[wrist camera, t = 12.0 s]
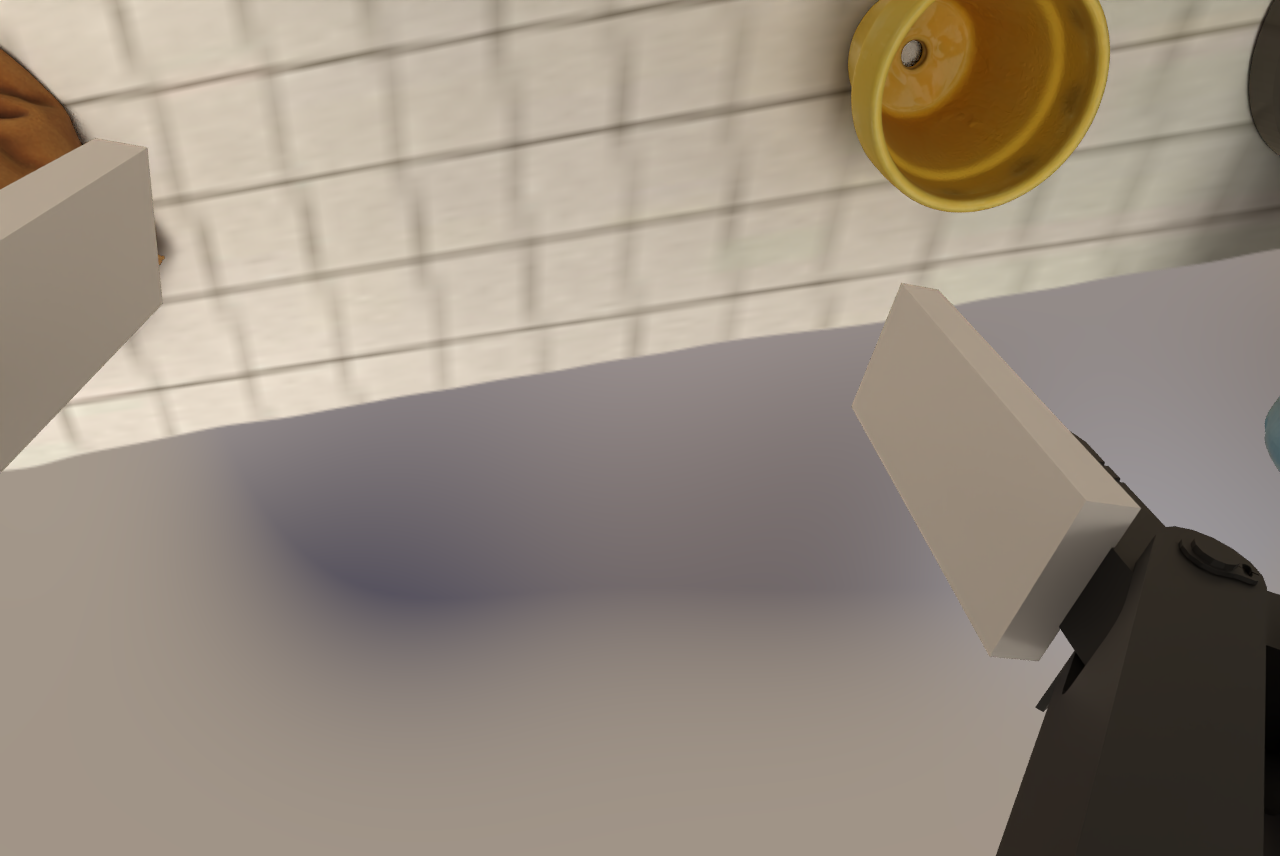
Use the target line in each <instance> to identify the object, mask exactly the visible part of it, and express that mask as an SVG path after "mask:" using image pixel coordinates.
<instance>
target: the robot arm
mask: <svg viewBox="0 0 1280 856" xmlns="http://www.w3.org/2000/svg"><path fill="white" fill-rule="evenodd" d="M1249 95H1250V105H1251V111H1252V116H1253V119H1254V122H1255V125H1256V127H1257V129H1258V132H1259V133H1260V135H1261V137H1262V138H1263V140H1264V141H1265V142H1266V144H1267V145H1268V146H1269V147H1270V148H1271V149H1272V150H1273V151H1274V152H1275V153H1276V154H1278V155H1279V156H1280V0H1274V2H1273V4H1272V6H1271V8H1270V10H1269V12H1268V14H1267V17H1266V19H1265V21H1264V24H1263V26H1262V29H1261V31H1260V34H1259V37H1258V40H1257V43H1256V47H1255V51H1254V55H1253V59H1252V65H1251V72H1250V83H1249ZM162 304H163V303H162V292H161V282H160V272H159V262H158V251H157V241H156V231H155V221H154V210H153V200H152V190H151V180H150V169H149V159H148V149H147V147H141V146H136V145H130V144H125V143H119V142H113V141H108V140H102V139H97V138H95V139H93V140H91V141H89V142H87V143H85V144H84V145H82V146H80V147H78V148H76V149H74V150H72V151H71V152H69V153H67V154H65V155H63V156H61V157H60V158H58V159H56V160H54V161H52V162H50V163H48V164H47V165H45V166H43V167H41V168H39V169H37V170H36V171H34V172H32V173H30V174H28V175H26V176H24V177H23V178H21V179H19V180H17V181H15V182H13V183H12V184H10V185H8V186H6V187H4V188H2V189H0V473H1V472H2V471H3V470H4V469H5V468H6V467H7V466H8V465H9V464H10V463H11V462H12V461H13V460H14V459H15V457H16V456H17V455H18V454H19V453H20V452H21V451H22V450H23V449H24V448H25V447H26V446H27V445H28V444H29V443H30V442H31V441H32V440H33V439H34V438H35V437H36V436H37V434H38V433H39V432H40V431H41V430H42V429H43V428H44V427H45V426H46V425H47V424H48V423H49V422H50V421H51V420H52V419H53V418H54V417H55V416H56V415H57V414H58V413H59V411H60V410H61V409H62V408H63V407H64V406H65V405H66V404H67V403H68V402H69V401H70V400H71V399H72V398H73V397H74V396H75V395H76V394H77V393H78V392H79V391H80V390H81V388H82V387H83V386H84V385H85V384H86V383H87V382H88V381H89V380H90V379H91V378H92V377H93V376H94V375H95V374H96V373H97V372H98V371H99V370H100V369H101V368H102V366H103V365H104V364H105V363H106V362H107V361H108V360H109V359H110V358H111V357H112V356H113V355H114V354H115V353H116V352H117V351H118V350H119V349H120V348H121V347H122V346H123V345H124V343H125V342H126V341H127V340H128V339H129V338H130V337H131V336H132V335H133V334H134V333H135V332H136V331H137V330H138V329H139V328H140V327H141V326H142V325H143V324H144V323H145V322H146V320H147V319H148V318H149V317H150V316H151V315H152V314H153V313H154V312H155V311H156V310H157V309H158V308H159V307H160V306H161V305H162ZM851 407H852V408H853V410H854V412H855V414H856V416H857V418H858V420H859V421H860V423H861V425H862V427H863V428H864V430H865V432H866V434H867V436H868V438H869V439H870V441H871V443H872V445H873V447H874V448H875V450H876V452H877V454H878V456H879V458H880V459H881V461H882V463H883V465H884V467H885V468H886V470H887V472H888V474H889V475H890V477H891V479H892V481H893V483H894V485H895V486H896V488H897V490H898V492H899V493H900V495H901V497H902V499H903V501H904V503H905V505H906V506H907V508H908V510H909V512H910V513H911V515H912V517H913V519H914V521H915V522H916V524H917V526H918V528H919V530H920V532H921V533H922V535H923V537H924V539H925V541H926V542H927V544H928V546H929V548H930V550H931V551H932V553H933V555H934V557H935V559H936V561H937V562H938V564H939V566H940V568H941V570H942V571H943V573H944V575H945V577H946V579H947V580H948V582H949V584H950V586H951V588H952V589H953V591H954V593H955V595H956V597H957V598H958V600H959V602H960V604H961V606H962V608H963V609H964V611H965V613H966V615H967V617H968V618H969V620H970V622H971V624H972V626H973V628H974V629H975V631H976V633H977V635H978V636H979V638H980V640H981V642H982V644H983V645H984V647H985V649H986V651H987V653H988V655H989V656H990V657H999V658H1011V659H1020V660H1031V661H1039V660H1040V658H1041V657H1042V656H1043V654H1044V653H1045V651H1046V649H1047V648H1048V647H1049V645H1050V644H1051V642H1052V641H1053V639H1054V638H1055V636H1056V635H1057V633H1058V632H1059V630H1060V629H1061V631H1062V632H1063V633H1064V635H1065V636H1066V638H1067V639H1068V641H1069V643H1070V644H1071V645H1072V647H1073V648H1074V650H1075V651H1074V652H1073V654H1072V655H1071V657H1070V658H1069V660H1068V661H1067V662H1066V664H1065V665H1064V667H1063V668H1062V670H1061V671H1060V673H1059V674H1058V675H1057V677H1056V678H1055V680H1054V681H1053V683H1052V684H1051V686H1050V687H1049V688H1048V690H1047V691H1046V693H1045V694H1044V696H1043V697H1042V698H1041V700H1040V701H1039V703H1038V704H1037V706H1036V708H1037V709H1039V710H1041V711H1043V712H1044V711H1045V710H1046V709H1047V708H1048V709H1047V712H1046V714H1045V717H1044V720H1043V723H1042V726H1041V729H1040V732H1039V734H1038V738H1037V740H1036V743H1035V746H1034V748H1033V751H1032V754H1031V757H1030V760H1029V763H1028V766H1027V768H1026V771H1025V774H1024V777H1023V780H1022V783H1021V786H1020V788H1019V791H1018V794H1017V797H1016V800H1015V803H1014V805H1013V808H1012V811H1011V814H1010V817H1009V820H1008V823H1007V825H1006V829H1005V831H1004V834H1003V837H1002V840H1001V842H1000V845H999V849H998V851H997V854H996V856H1280V595H1279V594H1275V593H1272V592H1269V591H1267V587H1266V584H1265V581H1264V579H1263V576H1262V575H1261V574H1260V573H1259V571H1257V569H1256V568H1255V567H1254V566H1253V565H1252V564H1251V563H1250V562H1249V561H1248V560H1247V559H1245V558H1244V557H1243V556H1241V555H1240V554H1239V553H1237V552H1236V551H1235V550H1234V549H1232V548H1230V547H1228V546H1227V545H1225V544H1223V543H1221V542H1220V541H1217V540H1216V539H1214V538H1212V537H1209V536H1207V535H1204V534H1202V533H1199V532H1197V531H1194V530H1190V529H1185V528H1180V527H1176V526H1173V527H1165V526H1164V525H1163V524H1162V523H1161V522H1160V520H1159V519H1158V518H1157V517H1156V516H1155V515H1154V514H1153V513H1152V512H1151V511H1150V510H1149V509H1148V508H1147V507H1146V506H1145V505H1144V503H1143V502H1142V501H1141V500H1140V499H1139V498H1138V497H1137V496H1136V495H1135V494H1134V493H1133V492H1132V491H1131V490H1130V489H1129V487H1128V486H1127V485H1126V484H1125V483H1121V482H1120V478H1119V477H1118V476H1117V475H1116V474H1115V473H1114V471H1113V470H1112V469H1111V468H1110V467H1109V466H1104V463H1105V462H1104V461H1103V460H1102V459H1101V458H1100V457H1099V456H1098V454H1097V453H1096V452H1095V451H1094V450H1093V449H1092V448H1091V447H1090V446H1089V445H1088V444H1087V443H1086V442H1085V441H1084V440H1082V439H1081V438H1079V437H1078V436H1076V435H1075V434H1073V433H1072V432H1070V431H1069V430H1068V429H1067V428H1066V427H1065V426H1064V425H1063V424H1062V422H1061V421H1060V420H1059V419H1057V417H1056V416H1055V415H1054V414H1053V413H1052V412H1051V411H1050V410H1049V408H1048V407H1047V406H1046V405H1045V404H1044V403H1043V402H1042V401H1041V400H1040V399H1039V398H1038V397H1037V396H1036V394H1035V393H1034V392H1033V391H1032V390H1031V389H1030V388H1029V387H1028V386H1027V385H1026V384H1025V383H1024V382H1023V381H1022V379H1021V378H1020V377H1019V376H1018V375H1017V374H1016V373H1015V372H1014V371H1013V370H1012V369H1011V368H1010V366H1009V365H1008V364H1007V363H1006V362H1005V361H1004V360H1003V359H1002V358H1001V357H1000V356H999V355H998V354H997V352H996V351H995V350H994V349H993V348H992V347H991V346H990V345H989V344H988V343H987V342H986V341H985V339H984V338H982V336H981V335H980V334H979V333H978V332H977V331H976V330H975V329H974V328H973V327H972V325H971V324H970V323H969V322H968V321H967V320H966V319H965V318H964V317H963V316H962V315H961V314H960V313H959V311H958V310H957V309H956V308H955V307H954V306H953V305H952V304H951V303H950V302H949V301H948V300H947V298H946V297H945V296H944V295H943V294H942V293H941V292H940V291H939V290H937V289H931V288H926V287H920V286H915V285H909V284H904V283H901V285H900V287H899V290H898V292H897V295H896V297H895V300H894V302H893V305H892V307H891V310H890V312H889V315H888V317H887V320H886V322H885V325H884V327H883V330H882V332H881V334H880V337H879V339H878V342H877V344H876V347H875V350H874V352H873V354H872V357H871V359H870V362H869V364H868V367H867V369H866V372H865V374H864V377H863V379H862V381H861V384H860V386H859V389H858V392H857V394H856V396H855V399H854V401H853V404H852V406H851ZM1265 432H1266V434H1265V444H1266V447H1267V449H1268V452H1269V455H1270V457H1271V459H1272V460H1273V462H1274V464H1275V466H1276V467H1277V469H1278V470H1279V472H1280V397H1279V398H1278V399H1277V401H1276V402H1275V403H1274V405H1273V406H1272V408H1271V409H1270V411H1269V412H1268V415H1267V417H1266V419H1265Z"/></svg>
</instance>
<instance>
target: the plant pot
mask: <svg viewBox="0 0 1280 856" xmlns="http://www.w3.org/2000/svg"><path fill="white" fill-rule="evenodd" d="M912 40H917V41H919V42H920V43H921V45H922V48H923V52H922V56H921V58H920V60H919V61H918V62H917V63H916V64H915V65H914V66H911V67H906V66H905V65H903V63H902V60H901V53H902V50H903V48H904V46H905V45H906V44H907V43H908V42H910V41H912ZM1109 61H1110V42H1109V33H1108V27H1107V22H1106V18H1105V15H1104V12H1103V9H1102V7H1101V4H1100V2H1099V0H879V1H878V2H876V3H875V4H874V5H873V6H872V7H871V8H870V10H869V11H868V12H867V13H866V14H865V16H864V17H863V19H862V20H861V22H860V23H859V25H858V27H857V29H856V31H855V33H854V36H853V39H852V42H851V46H850V50H849V56H848V72H849V79H850V83H851V87H852V90H851V106H852V116H853V122H854V127H855V130H856V133H857V136H858V139H859V141H860V144H861V146H862V148H863V150H864V152H865V153H866V155H867V156H868V158H869V159H870V160H871V162H872V163H873V164H874V166H875V167H876V168H877V169H878V170H879V171H880V172H881V173H882V175H883V176H884V177H885V178H886V179H888V180H889V181H890V182H891V183H892V184H893V185H894V186H895V187H896V188H897V189H899V190H900V191H901V192H902V193H903V194H905V195H906V196H908V197H909V198H910V199H912V200H914V201H916V202H917V203H920V204H922V205H924V206H926V207H929V208H932V209H936V210H941V211H946V212H975V211H980V210H985V209H989V208H993V207H996V206H999V205H1002V204H1005V203H1007V202H1010V201H1012V200H1014V199H1016V198H1018V197H1020V196H1022V195H1024V194H1025V193H1027V192H1029V191H1030V190H1032V189H1033V188H1035V187H1036V186H1038V185H1039V184H1040V183H1042V182H1043V181H1044V180H1045V179H1047V178H1048V177H1049V176H1051V175H1052V174H1053V173H1054V172H1055V171H1056V170H1057V169H1058V168H1059V167H1060V166H1061V165H1062V164H1063V163H1064V162H1065V161H1066V160H1067V159H1068V157H1069V156H1070V155H1071V154H1072V152H1073V151H1074V150H1075V149H1076V147H1077V146H1078V145H1079V143H1080V142H1081V140H1082V139H1083V137H1084V136H1085V134H1086V132H1087V131H1088V129H1089V127H1090V125H1091V124H1092V121H1093V119H1094V117H1095V115H1096V113H1097V110H1098V108H1099V106H1100V103H1101V100H1102V96H1103V93H1104V90H1105V86H1106V82H1107V76H1108V70H1109Z"/></svg>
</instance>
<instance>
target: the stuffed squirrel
mask: <svg viewBox="0 0 1280 856" xmlns="http://www.w3.org/2000/svg"><path fill="white" fill-rule="evenodd" d="M80 146H82V144H81V142H80V141H79V139H78V136H77V134H76V132H75V130H74V127H73V125H72V122H71V120H70V117H69V116H68V114H67V112H66V111H65V109H64V108H63V106H62V105H61V104H60V103H59V102H58V101H57V100H56V99H55V98H54V97H53V96H52V94H51V93H50V92H48V91H47V90H46V89H45V88H44V87H43V85H42V84H40V83H39V82H38V81H37V80H36V79H35V78H34V77H33V76H32V75H31V74H30V73H29V72H28V71H27V70H25V69H24V68H23V67H22V66H21V65H20V64H18V63H17V62H16V61H15V60H14V59H13V58H12V57H10V56H9V55H8V54H7V53H5V52H4V51H3V50H1V49H0V189H2V188H4V187H6V186H8V185H10V184H12V183H13V182H15V181H17V180H19V179H21V178H23V177H24V176H26V175H28V174H30V173H32V172H34V171H36V170H37V169H39V168H41V167H43V166H45V165H47V164H48V163H50V162H52V161H54V160H56V159H58V158H60V157H61V156H63V155H65V154H67V153H69V152H71V151H72V150H74V149H76V148H78V147H80ZM163 259H165V258H164V256H161V255H159V254H158V262H159V265H161V262H162V260H163ZM103 366H104V365H103Z"/></svg>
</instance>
